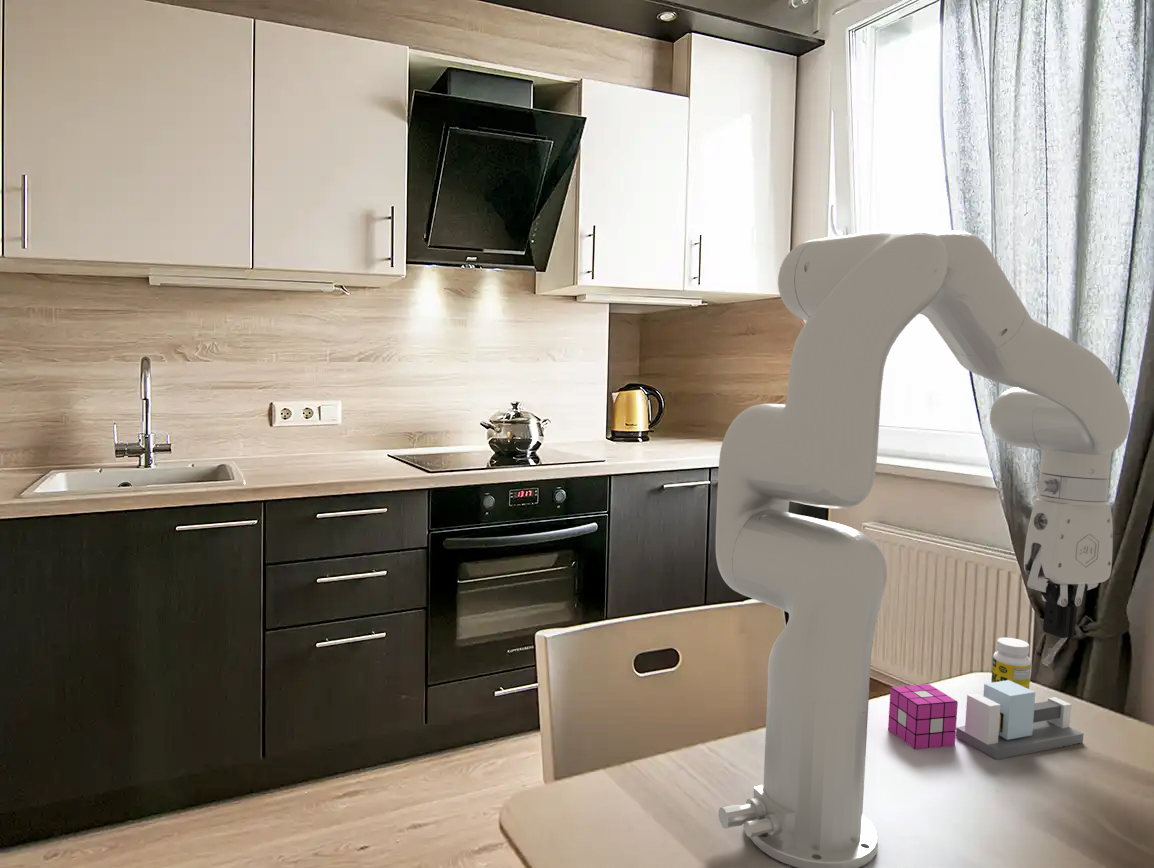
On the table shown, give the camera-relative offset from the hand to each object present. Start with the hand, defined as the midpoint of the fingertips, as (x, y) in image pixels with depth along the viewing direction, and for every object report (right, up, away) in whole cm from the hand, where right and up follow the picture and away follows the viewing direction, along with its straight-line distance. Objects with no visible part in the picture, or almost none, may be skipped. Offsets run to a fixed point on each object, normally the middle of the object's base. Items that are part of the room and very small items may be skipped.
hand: (1058, 634), depth 108 cm
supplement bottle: (0, -12, +12) cm, 17 cm away
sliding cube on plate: (-5, -13, 0) cm, 14 cm away
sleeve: (-7, -12, -1) cm, 14 cm away
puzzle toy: (-17, -13, 0) cm, 22 cm away
